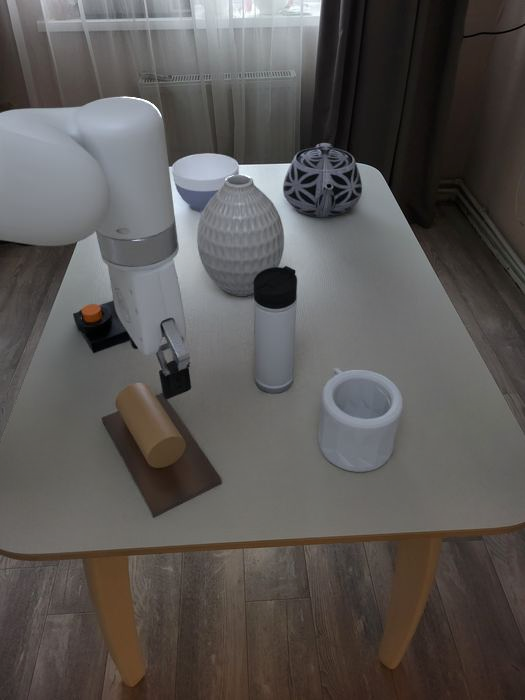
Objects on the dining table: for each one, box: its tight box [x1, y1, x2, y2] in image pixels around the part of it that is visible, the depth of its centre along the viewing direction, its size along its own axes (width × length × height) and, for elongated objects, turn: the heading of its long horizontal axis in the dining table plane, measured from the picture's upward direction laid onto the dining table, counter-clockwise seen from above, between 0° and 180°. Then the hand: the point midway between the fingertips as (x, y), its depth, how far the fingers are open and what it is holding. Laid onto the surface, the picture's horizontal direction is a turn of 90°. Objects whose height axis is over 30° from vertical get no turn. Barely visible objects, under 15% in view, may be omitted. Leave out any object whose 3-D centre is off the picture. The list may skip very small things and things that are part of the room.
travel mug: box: [252, 265, 298, 394], centre depth 84 cm, size 6×7×20 cm
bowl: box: [171, 153, 240, 213], centre depth 135 cm, size 16×16×10 cm
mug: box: [317, 367, 404, 473], centre depth 78 cm, size 14×11×10 cm
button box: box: [72, 299, 130, 354], centre depth 100 cm, size 11×10×4 cm
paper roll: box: [114, 382, 186, 468], centre depth 79 cm, size 6×12×6 cm, turn 32°
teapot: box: [282, 142, 363, 218], centre depth 132 cm, size 19×31×15 cm, turn 179°
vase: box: [196, 174, 285, 297], centre depth 104 cm, size 16×16×22 cm
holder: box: [101, 392, 222, 519], centre depth 79 cm, size 10×19×1 cm, turn 32°
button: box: [81, 303, 102, 322], centre depth 97 cm, size 3×3×2 cm
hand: (160, 367), depth 65 cm, fingers open, 9 cm apart
